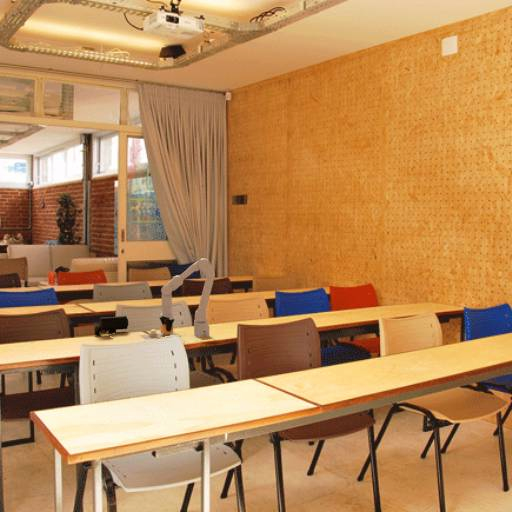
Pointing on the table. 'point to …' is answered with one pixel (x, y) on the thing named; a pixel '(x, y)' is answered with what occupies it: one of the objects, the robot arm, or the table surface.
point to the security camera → (111, 324)
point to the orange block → (163, 329)
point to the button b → (153, 331)
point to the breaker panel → (156, 335)
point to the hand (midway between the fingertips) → (166, 330)
